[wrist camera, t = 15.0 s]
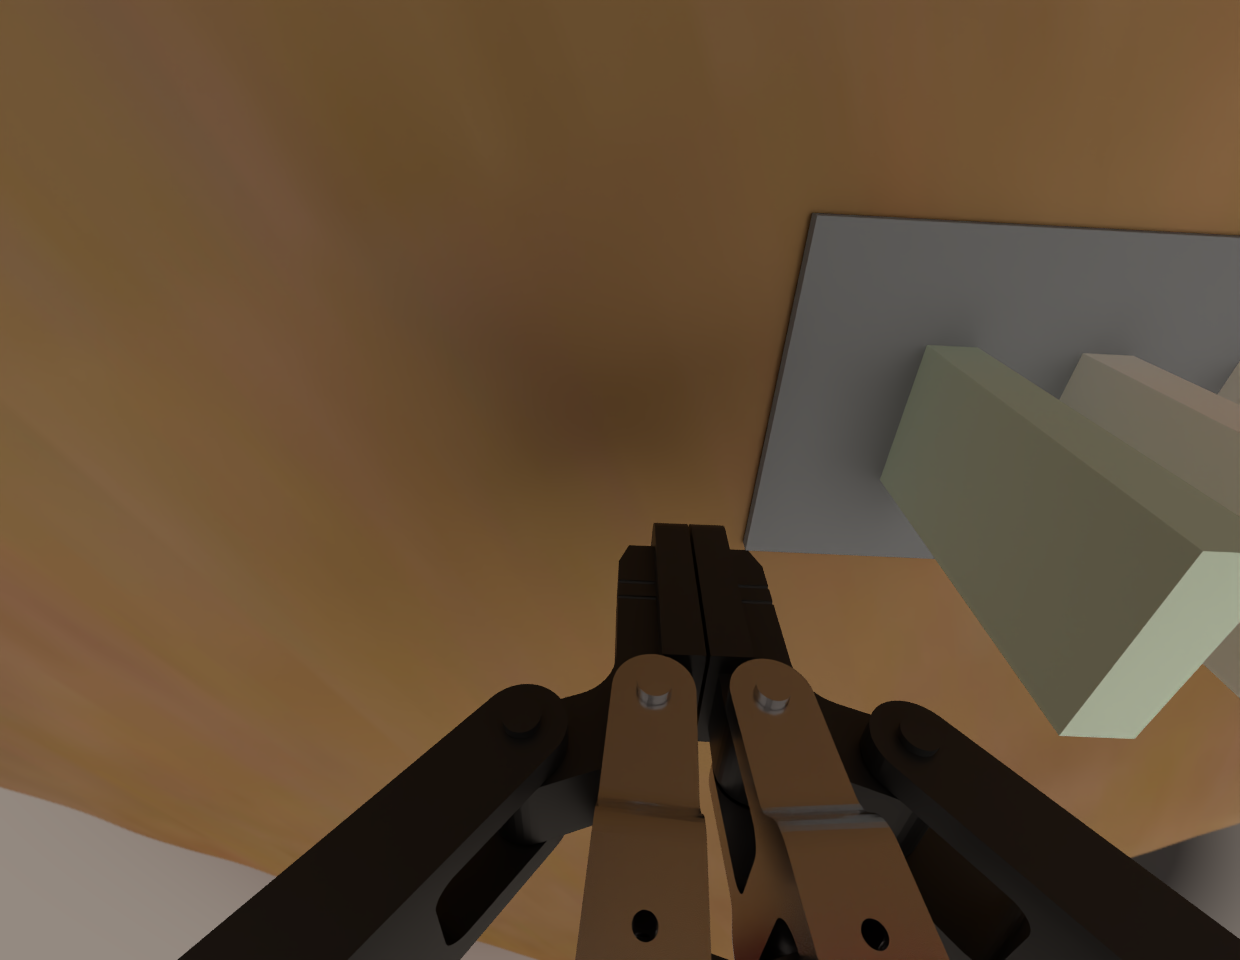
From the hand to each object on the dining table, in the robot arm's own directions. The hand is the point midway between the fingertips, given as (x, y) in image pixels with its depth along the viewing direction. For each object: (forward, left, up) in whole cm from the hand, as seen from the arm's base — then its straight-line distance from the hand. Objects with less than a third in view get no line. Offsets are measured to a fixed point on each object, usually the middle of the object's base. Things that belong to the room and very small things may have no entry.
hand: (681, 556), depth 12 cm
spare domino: (+9, 0, -8) cm, 12 cm away
